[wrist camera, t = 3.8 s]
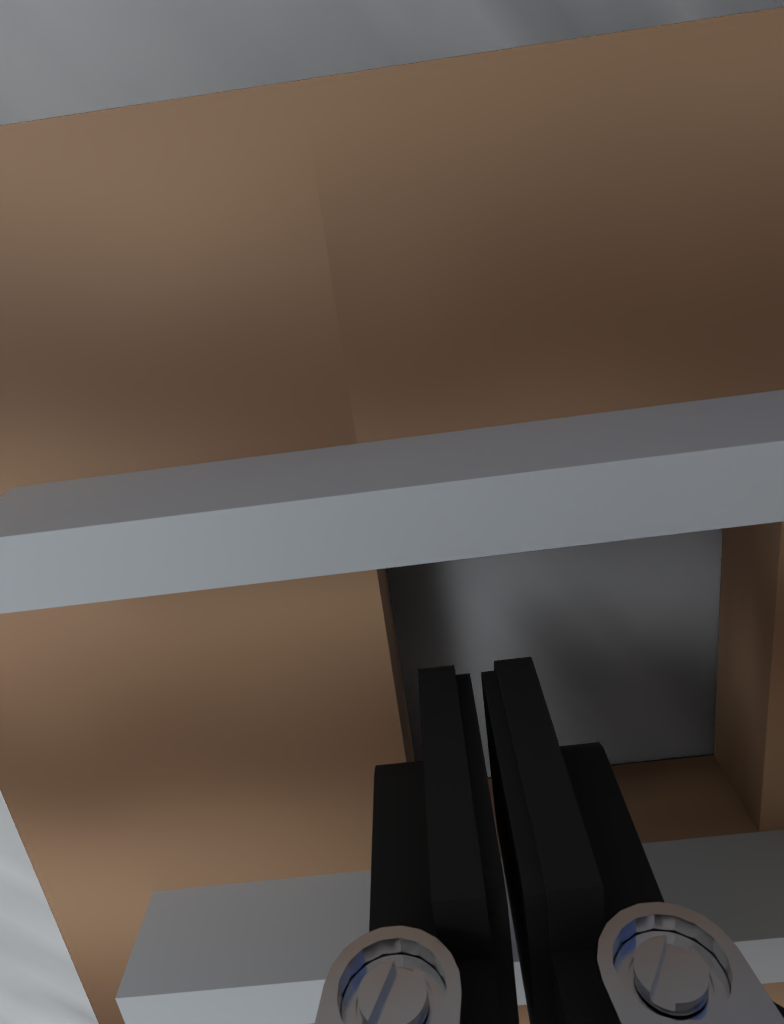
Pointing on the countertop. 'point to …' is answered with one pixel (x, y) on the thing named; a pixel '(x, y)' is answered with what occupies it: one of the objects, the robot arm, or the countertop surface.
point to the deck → (361, 417)
